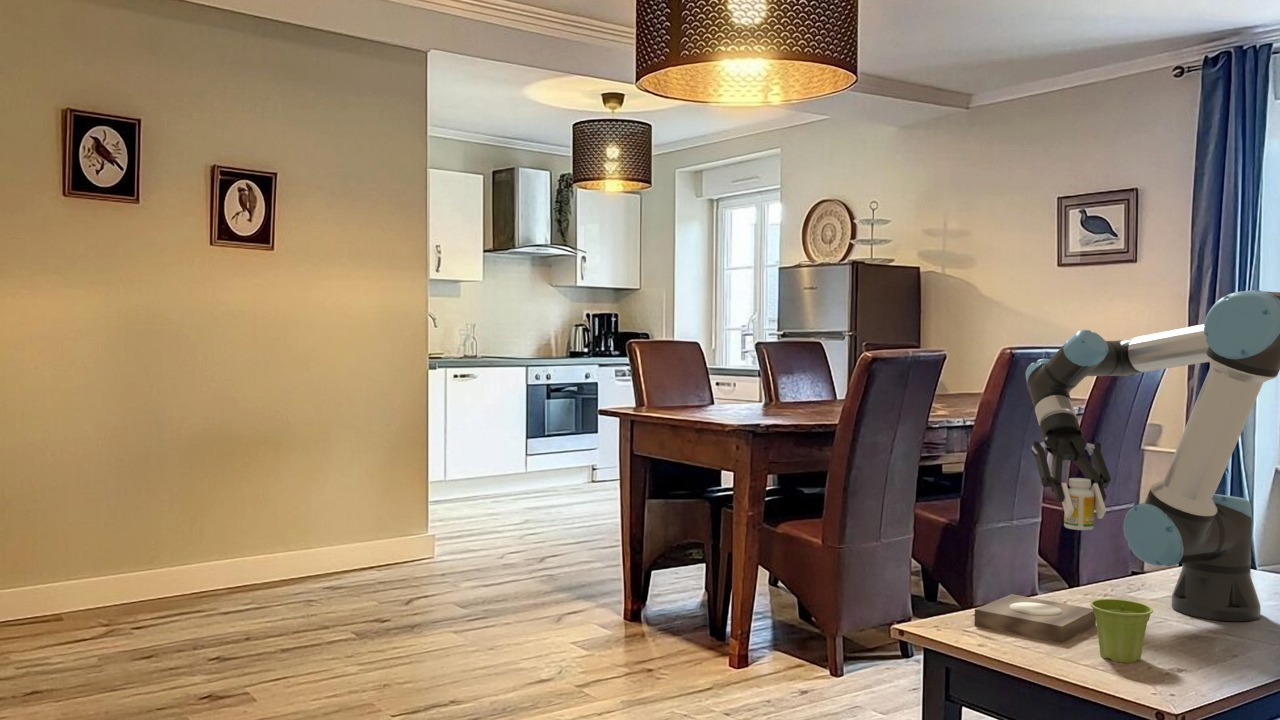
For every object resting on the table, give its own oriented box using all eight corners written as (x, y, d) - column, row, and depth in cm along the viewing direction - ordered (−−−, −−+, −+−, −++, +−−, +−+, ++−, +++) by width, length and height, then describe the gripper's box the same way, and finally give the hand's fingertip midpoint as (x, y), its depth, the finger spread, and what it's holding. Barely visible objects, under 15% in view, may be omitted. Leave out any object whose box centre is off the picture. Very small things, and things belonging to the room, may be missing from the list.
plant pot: (1159, 668, 164) (1160, 615, 164) (1096, 664, 166) (1097, 611, 166) (1143, 651, 174) (1143, 600, 174) (1083, 647, 176) (1084, 597, 175)
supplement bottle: (1065, 529, 199) (1066, 480, 199) (1062, 524, 204) (1063, 476, 204) (1095, 531, 198) (1096, 481, 198) (1091, 526, 203) (1092, 478, 203)
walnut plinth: (1095, 625, 189) (1096, 608, 189) (1062, 643, 178) (1062, 625, 178) (1011, 609, 200) (1011, 593, 200) (974, 625, 189) (974, 608, 189)
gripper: (1098, 434, 215) (1129, 526, 199) (1009, 433, 217) (1032, 524, 200) (1108, 411, 210) (1141, 503, 194) (1017, 410, 211) (1042, 501, 195)
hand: (1086, 514), depth 197 cm, fingers closed on supplement bottle, 5 cm apart
